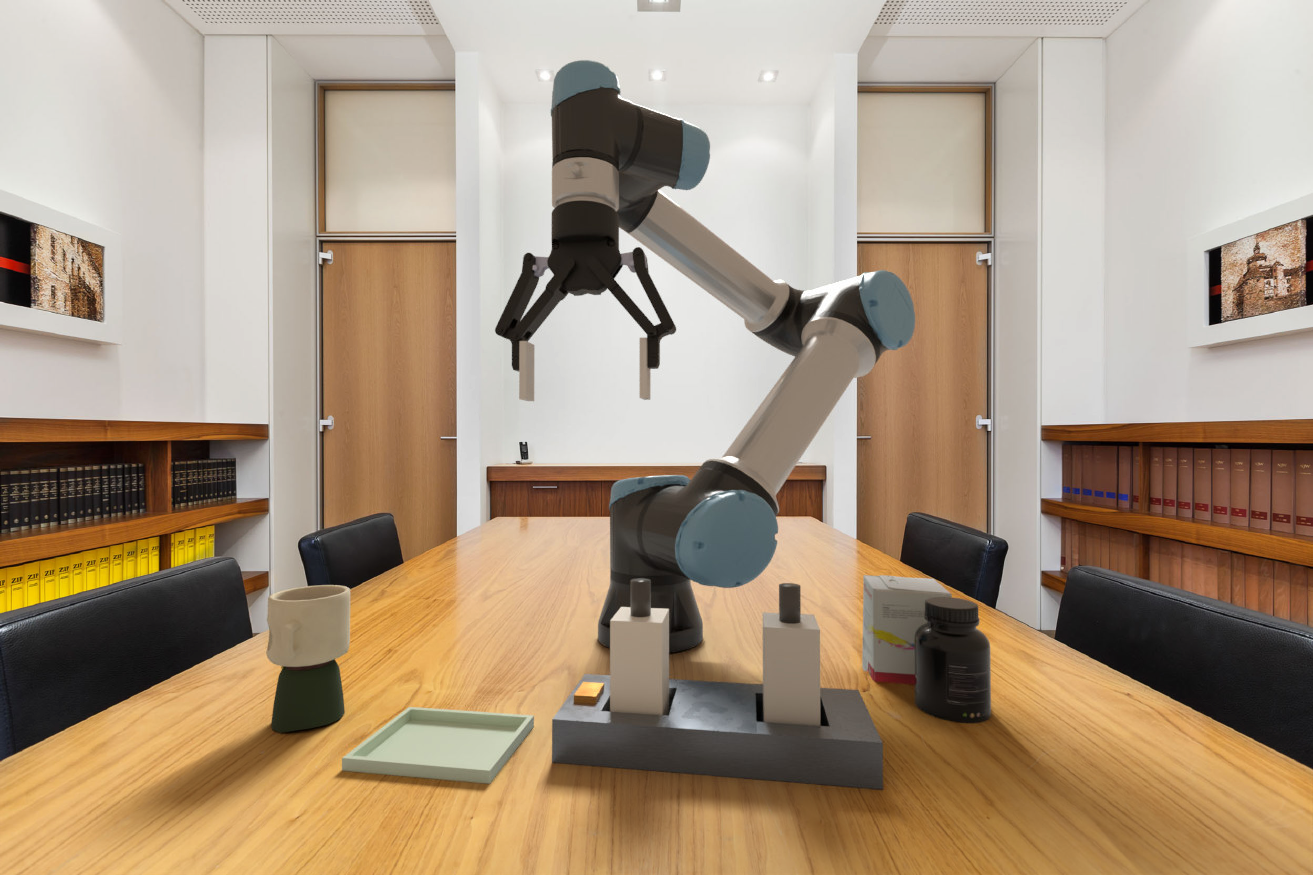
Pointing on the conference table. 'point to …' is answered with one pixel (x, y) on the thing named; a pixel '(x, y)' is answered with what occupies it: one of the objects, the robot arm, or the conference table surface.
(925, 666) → the supplement bottle
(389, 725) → the tray
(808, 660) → the twin plug
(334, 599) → the character mug
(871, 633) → the ink box
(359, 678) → the conference table surface
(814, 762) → the power strip
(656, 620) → the plug
